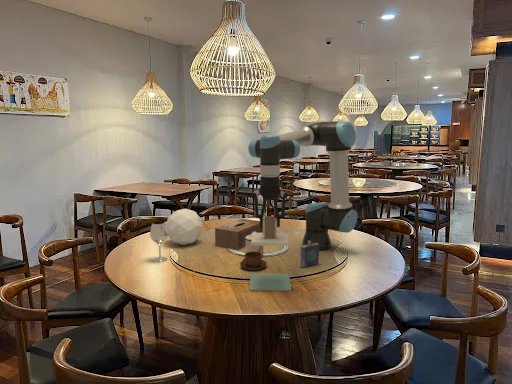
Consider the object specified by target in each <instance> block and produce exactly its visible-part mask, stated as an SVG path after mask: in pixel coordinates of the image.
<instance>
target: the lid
mask: <svg viewBox="0 0 512 384" xmlns="http://www.w3.org/2000/svg"><path fill="white" fill-rule="evenodd" d="M264 218H265V236H263V233H253V234H252V242H251V245H263V246H271V247H273V246H280V247H281V246H285V247H286V246H289V245H290V242H289V239H288V237H289V236H288V233H287V232H277V236H275V218H276V216H274V215H273V216H271V215H267V216H264Z"/></svg>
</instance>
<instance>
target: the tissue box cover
mask: <svg viewBox="0 0 512 384" xmlns="http://www.w3.org/2000/svg"><path fill="white" fill-rule="evenodd" d="M252 232H256V233H263V227H260V220H255V219H254V220H253V219H247V218H239V219H237V220H234V221H232V222H231V221H230V222H228V223H225V224H223V225H220V226H218V227H215V228H214V239H215V240H214V241H215V242H214V244H215V247H220V248H225V249H229V250H235V251H239V250H242V249H243V248H246V239H245V237H246V236H248V235H250V234H252Z"/></svg>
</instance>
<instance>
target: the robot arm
mask: <svg viewBox="0 0 512 384" xmlns="http://www.w3.org/2000/svg"><path fill="white" fill-rule="evenodd" d="M356 140H357V134H356V130H355V127H354V125H353V124H352V123H351V122H350V121H343V120H337V121H317V122H315V123H311V124H308V125H304V126H301V127H300V128H299V129H297V130H294V131H290V132H287V133H283V134H278V135H276V134H273V135H272V134H271V135H261V136H260V138H259V139H253V140H251V141H250V143H248V153H249V155H250V156H251V157H253V158H257V159H259V160H260V161H259V175H260V177H259V185H260V186H259V188H258V190H257V191H253V192H252V195H253V199H254V214H255V215H254V217H255V218H256V219H257V218H258V219H259V221H260V227H263V236H265V216H264V215H265V211H266V210H265V209H266V206H267V201H273V202H272V203H273V206H274V211H275V215H276V216H275V236H277V233H278V228H280V226H281V219H283V218H285V216H286V215H285V213H286V199H287V196H288V192H287V191H283V190H281V188H280V187H281V184H280V182H281V178H280V175H281V174H280V173H281V172H280V171H281V166H280V165H281V164H280V163H281V160H292V159H296V158H297V157H299V155H300V153H301V147H310V146H316V147H317V146H318V147H325V151H326V152H327V154H329V176H330V177H329V178H330V181H329V182H330V203H329V202H327V201H325V202H323V201H322V202H320V201H319V202H313V203H308V204H307V205H306V208H305V231H304V235H303V239H302V242H301V246H304V245H308V244H307V243H308V242H307V241H308V240H310V241H311V243H318V244H319V251H327V250H329V249H331V248H332V241H331V238H330V234H329V230H331V231H333V232H340V233H346V234H347V233H350V232H352V231H353V230H354V228H355V227H356V225H357V221H358V212H357V211H356V210H355V209H353V203H351V202H350V193H349V192H350V191H349V185H350V184H349V152H350V151H351V150H352V147H353V146H354V145H355V143H356ZM279 195H280V197H281V211H280V210H279V206H278V200H277V198H278V196H279ZM259 196H261V197H262V199H263V200H262V204H261V209H260V210H261V211H260V214H259ZM279 211H280V212H281V213H280V212H279Z"/></svg>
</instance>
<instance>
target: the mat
mask: <svg viewBox="0 0 512 384" xmlns="http://www.w3.org/2000/svg"><path fill="white" fill-rule="evenodd" d="M249 278H250V280H249V289H248V290H249V292H267V291H268V292H292V285H291V279H290V278H291V277H290V274H289V273H251V274H250V277H249Z"/></svg>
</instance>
